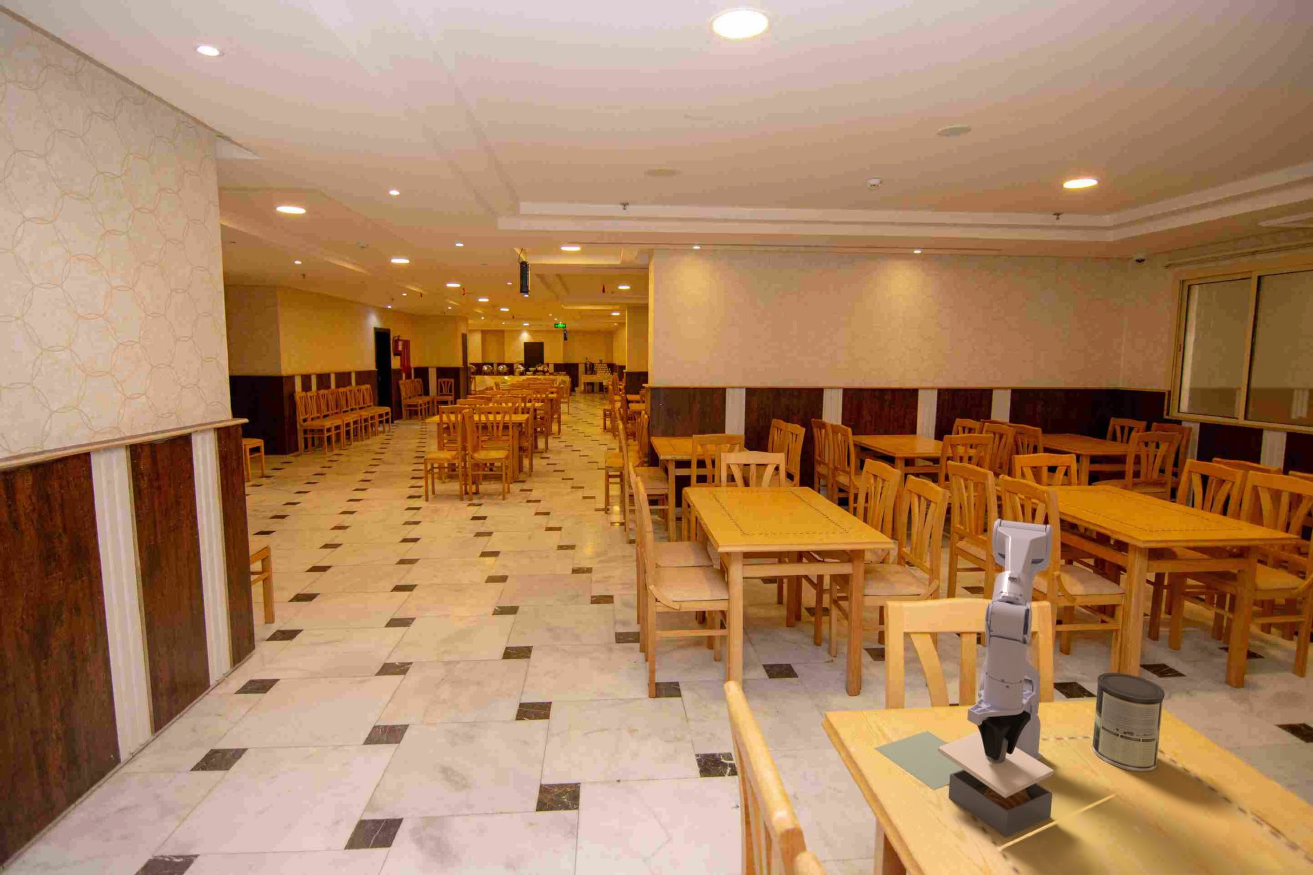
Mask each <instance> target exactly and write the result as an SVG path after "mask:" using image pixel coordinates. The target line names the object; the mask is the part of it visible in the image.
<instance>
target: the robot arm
mask: <svg viewBox="0 0 1313 875" xmlns="http://www.w3.org/2000/svg"><path fill="white" fill-rule="evenodd" d="M1053 534H1054V528H1053V527H1052V526H1051V524H1047V525H1046V524H1039V523H1038V524H1037V523H1028V522H1020V521H1012V520H1003V519H1002V518H997V519H996V520H995V521H994V523H993V530H992V538H991V539H992V540H991V544H992V545H991V548H992V554H993V558H994V562H995V564H997V565H1000V566H1001V567H1003V568H1004V571H1001V573H999V574H998V575H997V576H996V578H995V581H994V586H993V587H994V588H993V593H992V596H991V602H990V603H989V602H988V603H987V605H986V606H985V607H986V608H985V614H984V631H985V632H984V633H985V641H984V642H985V644H984V645H985V647H986V653H985V661H984V663H983V665H982V669H981V670H982V671H981V674H980V679H979V688H978V690H979V691H977V696H978V700H977V701H976V702H975V704H974V705H973V706H972V707H970V708H969V707H968V708H967V718H966V719H967V721H969V722H970V723H972V724H974V725H976V726H977V729H978V730H979V731H980V734H981V737H982V741H983V746H984V751H985V755H987V756H989V757H990V758H992V759H994V760H998V759H999V757H1000V755H1001V749H1002V744H1003V740H1004V737H1005V738H1006V739H1007V740H1008V746H1007V752H1006V753H1008V754H1012V753H1013V751H1014V749H1015V747H1016V748H1018V749H1020V750H1021V751H1023V752H1025V753H1026V754H1028V755H1029V756H1031V757H1033V758H1034V759H1036V760H1038V761H1039V760H1040V759H1043V758H1044V756H1043V754H1041V753H1040V752H1039V751H1040V736H1041V719H1040V718H1039V715H1038V714H1039V706H1040V698H1041V697H1040V695H1041V675H1040V672H1039V671H1038V669H1037V668H1035V667H1034V666H1033V665H1032V664H1031V663H1030V662H1029V661H1027V659H1026V658H1027V650H1028V649H1027V648H1028V647H1027V646H1028V644H1029V641H1030V638H1031V636H1032V625H1033V624H1032V623H1033V610H1032V601H1033V600H1032V599H1033V590H1034V584H1033V582H1034V580H1035V577H1036V576H1037V573H1039V572H1044V571H1047V570H1048V566H1050V562H1051V556H1052V548H1053V547H1052V546H1053ZM1025 676H1026V677H1027V678H1025ZM1028 678H1029V679H1028Z"/></svg>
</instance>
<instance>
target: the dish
mask: <svg viewBox="0 0 1313 875" xmlns="http://www.w3.org/2000/svg"><path fill="white" fill-rule="evenodd" d="M948 785H949V786H948V799H950V800H951V801H953V802H954V803H955V804H957V805H958V806H960V807H961V808H962V809H964V810H965V811H967V812H968V813H969V814H971V815H973V816H974V817H976V818H977V819H978V820H980V822H982V823H984V824H986V825H987V826H989V827H990V828H991V829H992V830H995V832H997V833H998V834H1000V835H1002V836H1003V837H1005V838H1008V837H1010V836H1013V835H1015V834H1017V833H1019V832H1021V831H1024V830H1025V829H1026V830H1027V829H1028V828H1030V827H1032V826H1035V825H1037V824H1040V823H1041V822H1044V821H1046V820H1048V819H1049V818H1051V815H1052V804H1053V792H1052V791H1050V790H1048V789H1047V788H1045V787H1043V786H1042V785H1040V784H1039V783H1038V782H1037V783H1035V784H1033V785H1031V786H1029V787H1027V788H1025V790H1026V791H1027V793H1028V795H1029V796H1030V798H1031V801H1028V802H1026V803H1024V804H1021V805H1019V806H1017V807H1014V808H1012V809H1010V810H1006V809H1004V808H1003V807H1001V806H1000V805H998V804H997V803H995V802H994V801H992V800H990V799H989V798H987V797H986V796H984V795H983V794H984V793H983V794H982V792H980V791H978V790H977V789H979V788H980V787H983V786H987V785H986V784H984V783H983V782H981V781H980V780H978V779H977V778H975V777H974V776H972V775H971V774H970V773H968V772H967V771H965V770H964V769H963V770H960V771H957V772H955V773H952V774H950V782H949V784H948Z"/></svg>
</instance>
